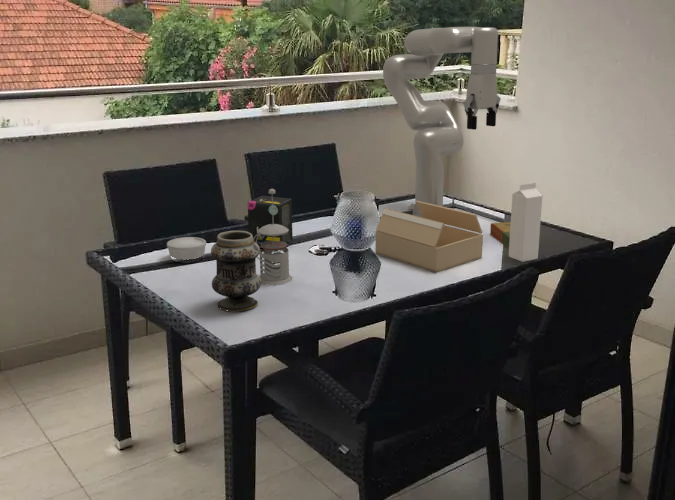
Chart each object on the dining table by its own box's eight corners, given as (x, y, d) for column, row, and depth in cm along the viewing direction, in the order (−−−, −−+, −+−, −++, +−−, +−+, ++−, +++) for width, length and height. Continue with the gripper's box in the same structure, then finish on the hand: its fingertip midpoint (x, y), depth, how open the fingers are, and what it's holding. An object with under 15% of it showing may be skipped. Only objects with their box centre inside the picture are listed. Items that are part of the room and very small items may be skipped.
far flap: (415, 201, 232) (416, 200, 232) (422, 218, 236) (424, 217, 236) (474, 215, 215) (476, 214, 215) (481, 233, 219) (482, 232, 219)
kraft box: (375, 253, 226) (375, 231, 224) (421, 240, 238) (421, 219, 236) (435, 272, 208) (436, 248, 206) (481, 257, 221) (483, 234, 219)
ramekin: (214, 258, 223) (213, 241, 221) (183, 267, 215) (182, 250, 213) (191, 251, 230) (190, 234, 229) (160, 259, 222) (159, 242, 221)
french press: (278, 287, 198) (275, 194, 191) (244, 280, 204) (239, 189, 197) (300, 276, 206) (298, 187, 199) (266, 270, 212) (262, 182, 205)
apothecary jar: (271, 306, 185) (268, 236, 180) (227, 317, 179) (223, 245, 173) (247, 292, 195) (244, 225, 189) (204, 302, 188) (200, 233, 183)
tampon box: (248, 248, 232) (246, 201, 228) (262, 240, 241) (260, 195, 236) (280, 251, 228) (278, 204, 224) (293, 243, 237) (292, 197, 232)
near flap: (444, 223, 207) (443, 222, 207) (435, 247, 207) (434, 246, 206) (385, 208, 224) (384, 207, 223) (377, 230, 223) (375, 229, 223)
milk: (537, 259, 220) (544, 184, 213) (522, 262, 217) (527, 187, 210) (523, 253, 225) (528, 180, 218) (507, 256, 222) (512, 183, 215)
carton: (513, 234, 246) (514, 221, 245) (534, 248, 231) (535, 234, 230) (489, 235, 245) (490, 222, 243) (508, 249, 230) (509, 236, 228)
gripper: (490, 68, 235) (487, 123, 240) (455, 71, 224) (454, 129, 228) (510, 69, 230) (507, 125, 235) (476, 72, 218) (474, 131, 223)
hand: (481, 127), depth 231 cm, fingers open, 9 cm apart
